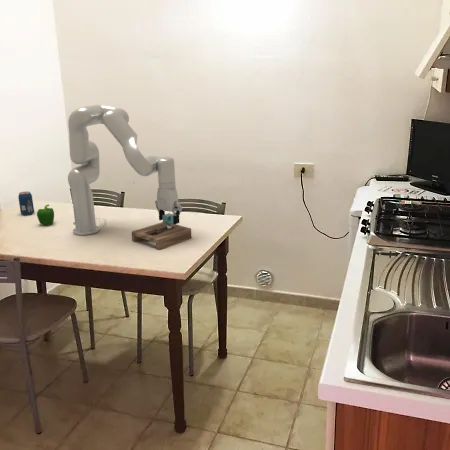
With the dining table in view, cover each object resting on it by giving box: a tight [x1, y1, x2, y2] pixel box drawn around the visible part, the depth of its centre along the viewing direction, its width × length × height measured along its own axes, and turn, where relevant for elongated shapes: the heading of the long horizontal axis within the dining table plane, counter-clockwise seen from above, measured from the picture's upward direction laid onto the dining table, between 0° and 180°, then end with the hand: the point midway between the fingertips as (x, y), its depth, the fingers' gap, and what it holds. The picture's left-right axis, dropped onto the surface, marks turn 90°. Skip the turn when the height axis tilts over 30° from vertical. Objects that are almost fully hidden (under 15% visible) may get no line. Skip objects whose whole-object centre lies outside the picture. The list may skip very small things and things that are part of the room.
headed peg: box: [162, 213, 174, 229], centre depth 232 cm, size 5×5×10 cm
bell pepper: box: [36, 203, 55, 226], centre depth 255 cm, size 8×8×10 cm
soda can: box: [17, 191, 35, 217], centre depth 274 cm, size 7×7×12 cm
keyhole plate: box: [130, 221, 192, 251], centre depth 230 cm, size 18×20×4 cm
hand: (169, 221), depth 232 cm, fingers open, 9 cm apart
